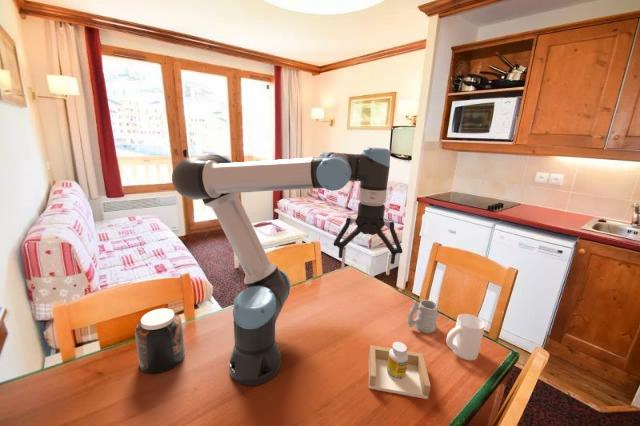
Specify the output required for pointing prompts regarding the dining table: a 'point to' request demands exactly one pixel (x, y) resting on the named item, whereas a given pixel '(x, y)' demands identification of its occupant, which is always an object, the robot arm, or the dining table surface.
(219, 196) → the robot arm
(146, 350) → the jar
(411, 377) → the u rest
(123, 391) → the dining table surface
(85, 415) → the dining table surface
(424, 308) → the mug
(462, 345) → the mug
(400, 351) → the supplement bottle
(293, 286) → the dining table surface
